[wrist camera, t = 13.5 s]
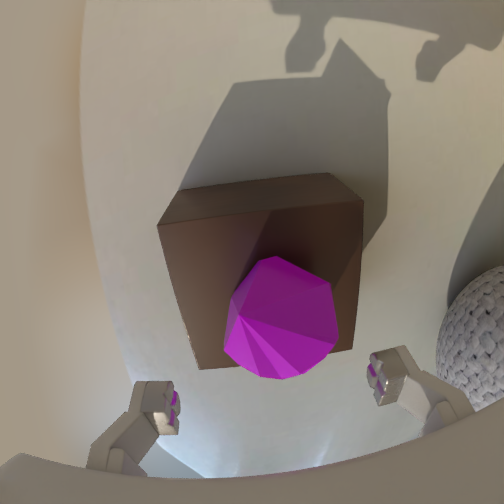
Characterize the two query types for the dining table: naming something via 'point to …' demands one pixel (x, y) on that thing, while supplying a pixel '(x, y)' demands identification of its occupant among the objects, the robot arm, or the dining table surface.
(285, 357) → the crystal
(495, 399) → the decorative ball
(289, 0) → the dining table surface
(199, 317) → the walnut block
